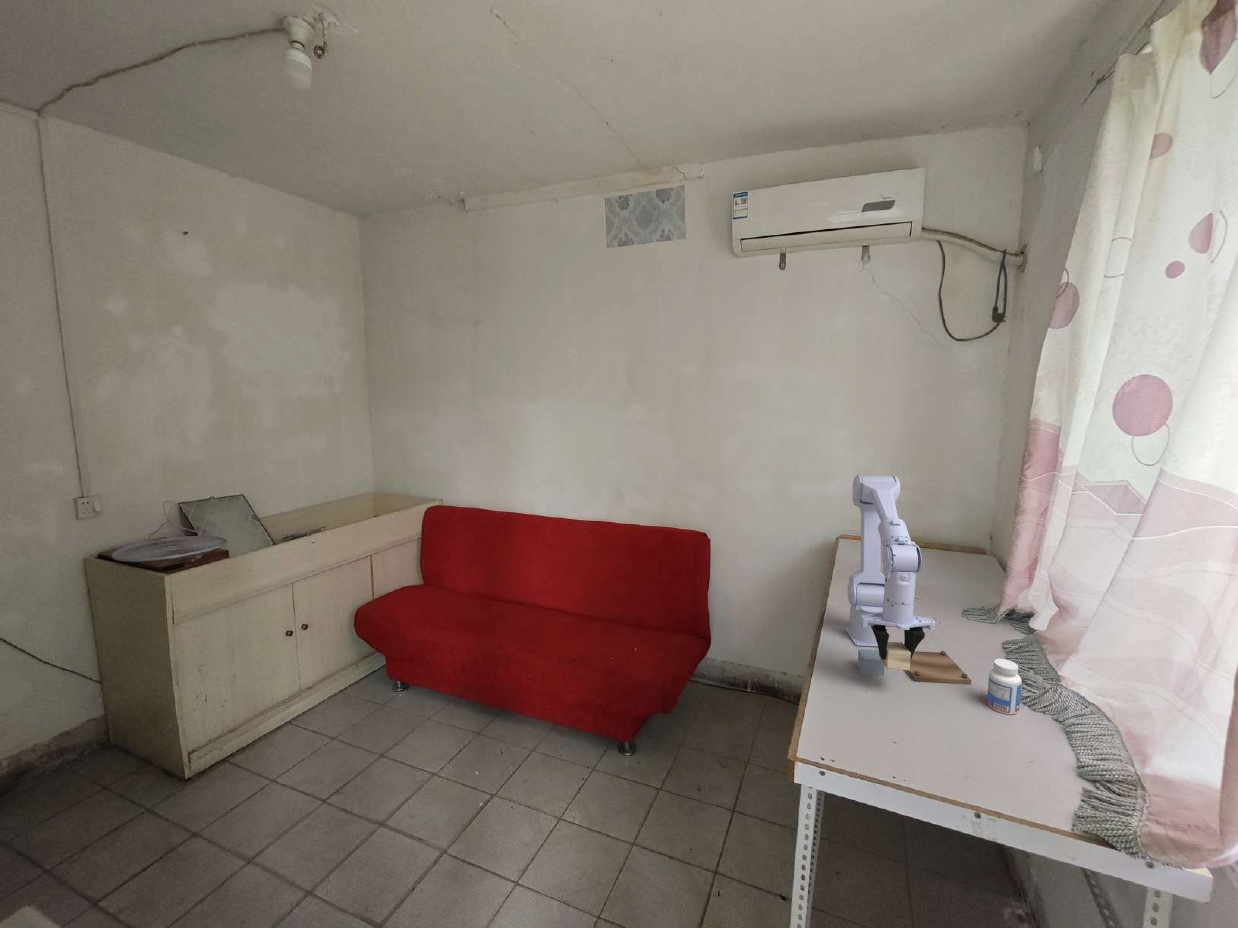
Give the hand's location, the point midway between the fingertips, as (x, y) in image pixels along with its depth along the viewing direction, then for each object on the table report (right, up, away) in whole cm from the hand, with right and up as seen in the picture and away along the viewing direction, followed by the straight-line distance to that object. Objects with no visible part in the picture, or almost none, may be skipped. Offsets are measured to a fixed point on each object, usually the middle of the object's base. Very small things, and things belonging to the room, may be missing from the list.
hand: (894, 657), depth 112 cm
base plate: (+13, -6, +9) cm, 17 cm away
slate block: (-1, -6, +9) cm, 11 cm away
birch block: (0, -1, 0) cm, 1 cm away
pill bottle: (+19, -8, -5) cm, 22 cm away
